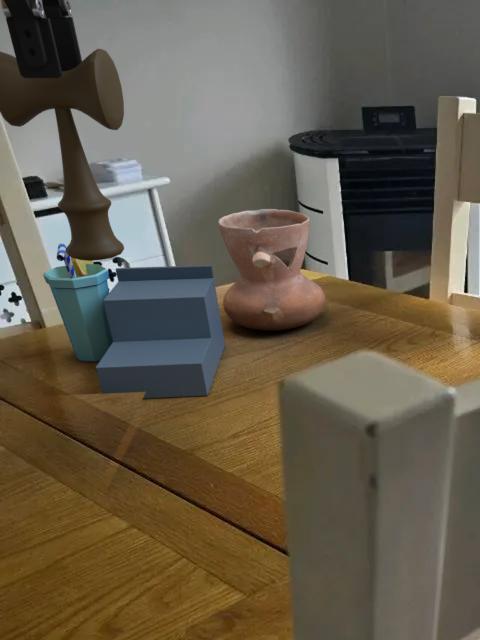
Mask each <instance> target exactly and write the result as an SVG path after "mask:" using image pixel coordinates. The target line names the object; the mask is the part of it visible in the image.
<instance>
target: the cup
mask: <svg viewBox="0 0 480 640" xmlns="http://www.w3.org/2000/svg"><path fill="white" fill-rule="evenodd" d="M70 242H71V240H70V241H69V243H70ZM66 248H67V246H66V245H65V243H63V242H60V243H58V245H57V251H56V259H57V261H59V262H64V265H62V266H61V265H60V266H56V267H54V268H52V269H49V270H47V271H46V272H43V274H42V276H43V278H44V281H45V283H46V284H47V285H49V288H50V291H51V293H52V297H53V299H54V302H55V304H56V307H57V310H58V312H59V315H60V318H61V320H62V322H63V325H64V328H65V331H66V333H67V336H68V339H69V341H70V344H71V346H72V349H73V352H74V355H75V358H77V359H78V360H79V361H81V362H98V361H99V362H100V361H101V359H102V358H103V356H104V355H105V353H106V352H107V350H108V349H109V347H110V346H111V344H112V343H113V339H112V335H111V331H110V327H109V323H108V319H107V315H106V311H105V307H104V303H103V300H104V299H105V297H106V296H107V295H108V294H109V293H110V289H109V281H108V280H109V279H110V276H109V275H110V274H109V273H110V272H109V269H107V268H105V267H104V266H102V265H101V264H99V263H94V262H95V261H86V260H79V259H75V258H71V257H70V256H69V255H68V254H67V253H66Z"/></svg>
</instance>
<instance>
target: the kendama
mask: <svg viewBox="0 0 480 640" xmlns="http://www.w3.org/2000/svg"><path fill="white" fill-rule="evenodd" d="M43 11H44V9H43ZM44 18H46V16H45V12H44ZM107 51H108V50H105V49H102V48H96V49H95V50H93V51H92V52H91V53H89V55H87V56H86V57H85V58H84V59H82V62H81V63H80V64H79V65H78V66H76V67H75V68H73V69H71V70H68V71H62V76H61V77H60V78H24V77H22V76H21V74H20V72H19V68H18V64H17V60H16V56H15V55H12V54H9V53H6V52H3V51H0V115H1V116H2V118H3V119H4V121H6V123H8V125H10V126H12V127H19V128H20V127H23V126H25V125H26V124H28V123H29V122H30V121H32V120H33V119H35V118H36V117H37V116H38V115H40V114H42V113H43V112H46V111H49V110H54V114H55V119H56V126H57V132H58V141H59V148H60V155H61V165H62V175H63V194H62V197H61V200H59V202H58V203H57V207H58V209H60V211H62V212H63V214H64V215H65V216H66V219H67V221H68V225H69V229H70V241H71V242H70V241H69V244H68V245H67V246H66V253H67V254H68V255H69V256H70V258H75V259H79V260H86V261H93V262H95V261H102V260H104V261H105V260H107V259H112V258H113V259H114V258H115V257H117V256H120V255H122V253H123V252H124V250H125V245H124V244H123V243H122V242H121V241H120V240H119V239H118V238H117V237H116V235H115V232H114V231H113V229H112V226H111V223H110V218H109V210H110V208H111V206H112V201H111V200H110V199H109V198H108V197H106V196H105V195H104V194H103V193H102V192H101V190H100V188H99V187H98V184H97V181H96V180H95V178H94V174H93V172H92V170H91V167H90V164H89V162H88V158H87V155H86V153H85V150H84V146H83V144H82V141H81V138H80V136H79V132H78V129H77V126H76V122H75V120H74V116H73V112H72V110H76V111H78V112H81V113H83V114H85V115H86V116H88V117H89V118H90V119H92V120H94V121H95V122H96V123H98V124H100V125H101V126H102V127H104V128H106V129H108V130H112V131H118V130H119V129H120V128H121V127H122V125H123V121H124V118H125V101H124V94H123V87H122V83H121V80H120V79H121V78H120V76H119V72H118V70H117V67H116V64H115V61H114V60H113V59H112V57H111V56H110V54H109V52H107Z"/></svg>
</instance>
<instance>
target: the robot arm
mask: <svg viewBox="0 0 480 640" xmlns="http://www.w3.org/2000/svg"><path fill="white" fill-rule="evenodd" d="M0 5H1V10H2V13H3V15H4V17H5V22H6V25H7V30H8V32H9V37H10V41H11V44H12V49H13V51H14V57H16V60H17V64H18V68H19V72H20V74H21V76H22V77H24V78H60V77H61V76H62V71H68V70H71V69H73V68H75V67H76V66H78V65H79V64H80V63H81V62H82V61H83V57H82V54H81V50H80V45H79V41H78V35H77V32H76V27H75V22H74V17H73V15H72V14H73V13H72V12H73V11H72V7H71V4H70V0H0ZM43 9H44V11H43ZM44 12H45V16H46V18H44Z"/></svg>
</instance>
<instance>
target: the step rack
mask: <svg viewBox="0 0 480 640" xmlns="http://www.w3.org/2000/svg"><path fill="white" fill-rule="evenodd" d="M115 273H116V278H117V283H116V284H115V285H114V286H113V287H112V289H111V290H109V294H108V295H107V296H106V297H105V299H104V300H103V303H104V307H105V311H106V315H107V319H108V323H109V327H110V331H111V335H112V339H113V343H112V344H111V346H110V347H109V349H108V350H107V352H106V353H105V355H104V356H103V358H102V359H101V360H99V362H98V363H97V364H96V366H95V371H96V374H97V378H98V382H99V386H100V389H101V393H102V395H103V394H105V395H107V394H127V393H144V395H143V397H142V400H143V399H163V398H164V399H165V398H166V399H167V398H183V397H184V398H188V397H208V396H209V395H208V394H209V393H210V389H211V387H212V384H213V380H214V378H215V375H216V373H217V369H218V367H219V364H220V361H221V358H222V355H223V354H224V353H223V352H224V349H225V347H226V342H225V336H224V335H225V334H224V329H223V324H222V318H221V311H220V306H219V300H218V295H217V287H216V282H215V278H214V270H213V265H212V264H200V265H197V264H196V265H171V266H170V265H169V266H167V265H165V266H140V267H139V266H138V267H116V268H115Z"/></svg>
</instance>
